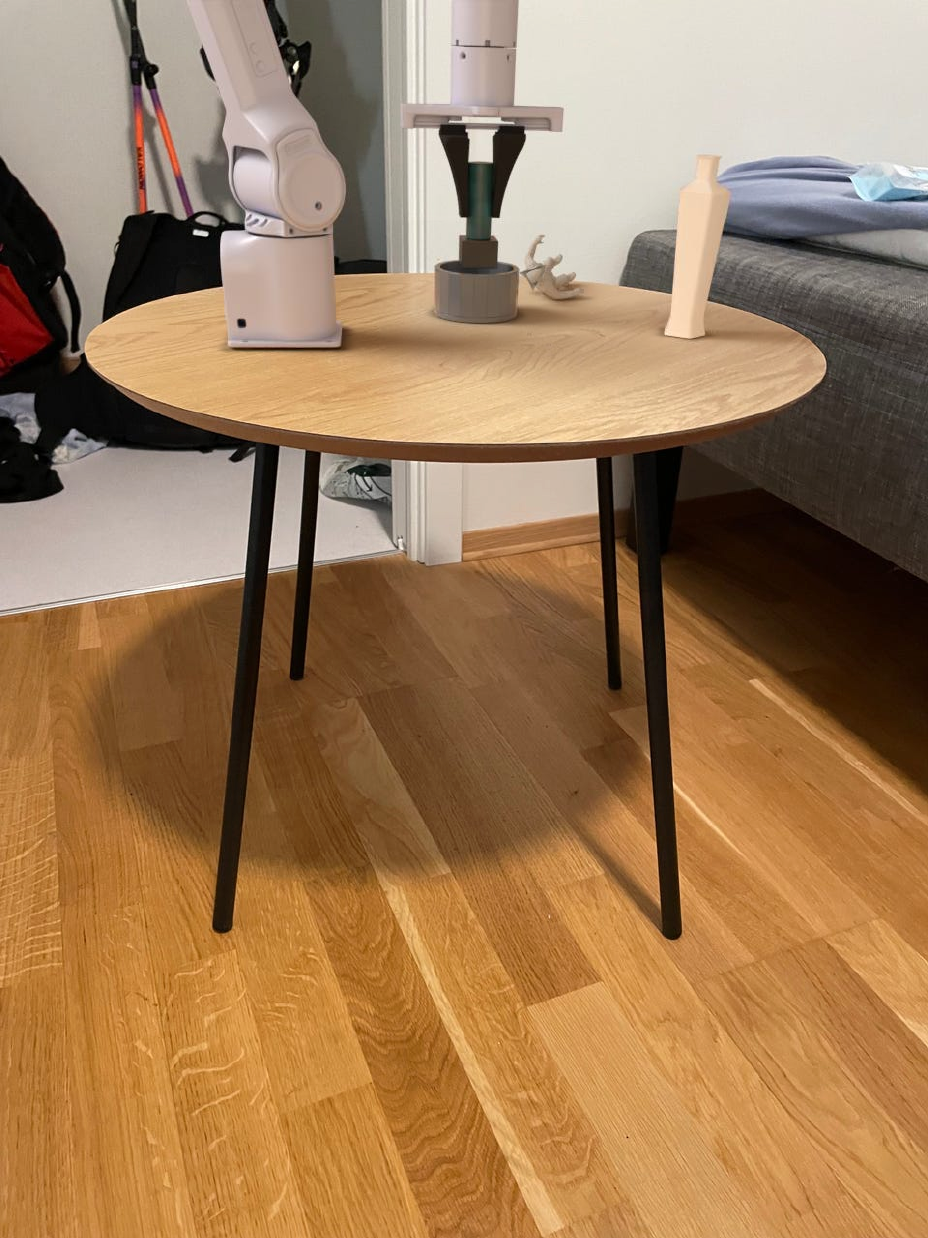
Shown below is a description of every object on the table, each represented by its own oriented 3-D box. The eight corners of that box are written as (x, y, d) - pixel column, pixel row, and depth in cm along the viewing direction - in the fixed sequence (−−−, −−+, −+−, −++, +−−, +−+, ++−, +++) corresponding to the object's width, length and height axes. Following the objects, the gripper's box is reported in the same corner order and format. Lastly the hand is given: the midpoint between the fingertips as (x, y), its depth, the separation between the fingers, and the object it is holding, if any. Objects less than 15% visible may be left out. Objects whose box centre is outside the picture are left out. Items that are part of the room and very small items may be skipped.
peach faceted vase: (709, 341, 85) (738, 158, 78) (660, 337, 86) (684, 156, 78) (708, 329, 89) (735, 154, 82) (661, 326, 90) (684, 152, 82)
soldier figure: (593, 296, 106) (586, 280, 95) (559, 324, 107) (548, 312, 96) (551, 241, 106) (539, 218, 94) (517, 270, 107) (502, 251, 95)
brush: (461, 268, 89) (464, 163, 84) (458, 262, 92) (460, 160, 87) (497, 268, 89) (501, 164, 84) (492, 262, 92) (496, 161, 87)
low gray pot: (437, 322, 89) (437, 274, 87) (431, 304, 96) (432, 259, 94) (522, 323, 90) (524, 275, 87) (510, 304, 97) (512, 259, 94)
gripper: (402, 44, 77) (403, 221, 84) (574, 49, 78) (562, 223, 85) (399, 45, 83) (400, 210, 90) (559, 50, 84) (549, 212, 91)
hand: (478, 216), depth 88 cm, fingers closed on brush, 2 cm apart
